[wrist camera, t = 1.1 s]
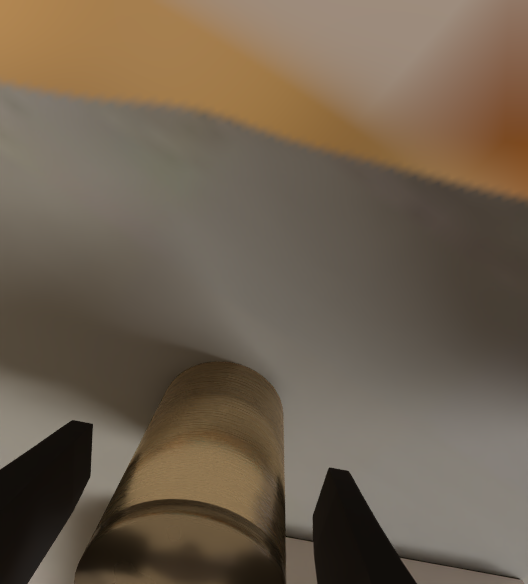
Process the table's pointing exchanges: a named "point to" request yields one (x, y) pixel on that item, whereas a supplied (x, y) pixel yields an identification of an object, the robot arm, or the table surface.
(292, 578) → the white fixture board
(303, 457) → the table surface
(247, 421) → the bead tin
